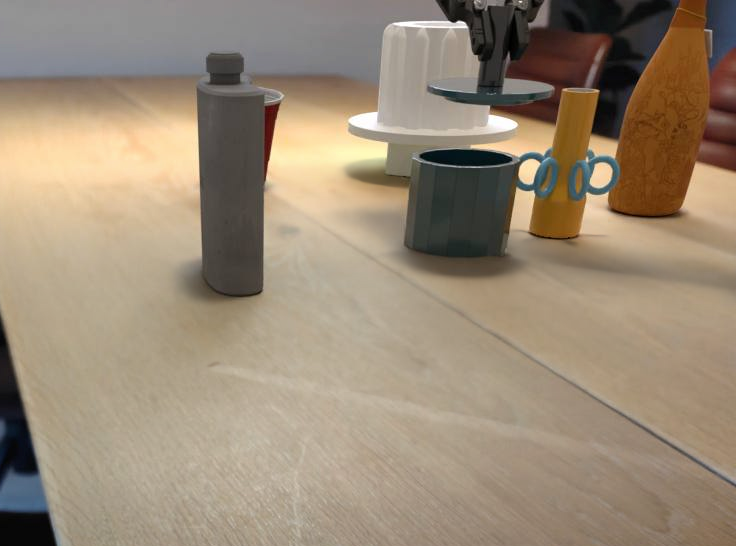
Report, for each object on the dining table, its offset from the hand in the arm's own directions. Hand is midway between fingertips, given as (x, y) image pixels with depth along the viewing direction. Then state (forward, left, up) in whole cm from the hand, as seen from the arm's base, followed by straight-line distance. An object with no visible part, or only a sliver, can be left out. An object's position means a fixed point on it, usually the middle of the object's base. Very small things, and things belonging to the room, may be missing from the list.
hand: (502, 54), depth 86 cm
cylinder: (-3, -20, -20) cm, 28 cm away
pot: (+5, -7, -20) cm, 21 cm away
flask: (+22, +15, -20) cm, 33 cm away
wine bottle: (-10, -38, -20) cm, 44 cm away
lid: (+1, -2, -3) cm, 4 cm away
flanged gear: (+24, -47, -20) cm, 56 cm away
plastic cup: (+43, -24, -20) cm, 53 cm away
